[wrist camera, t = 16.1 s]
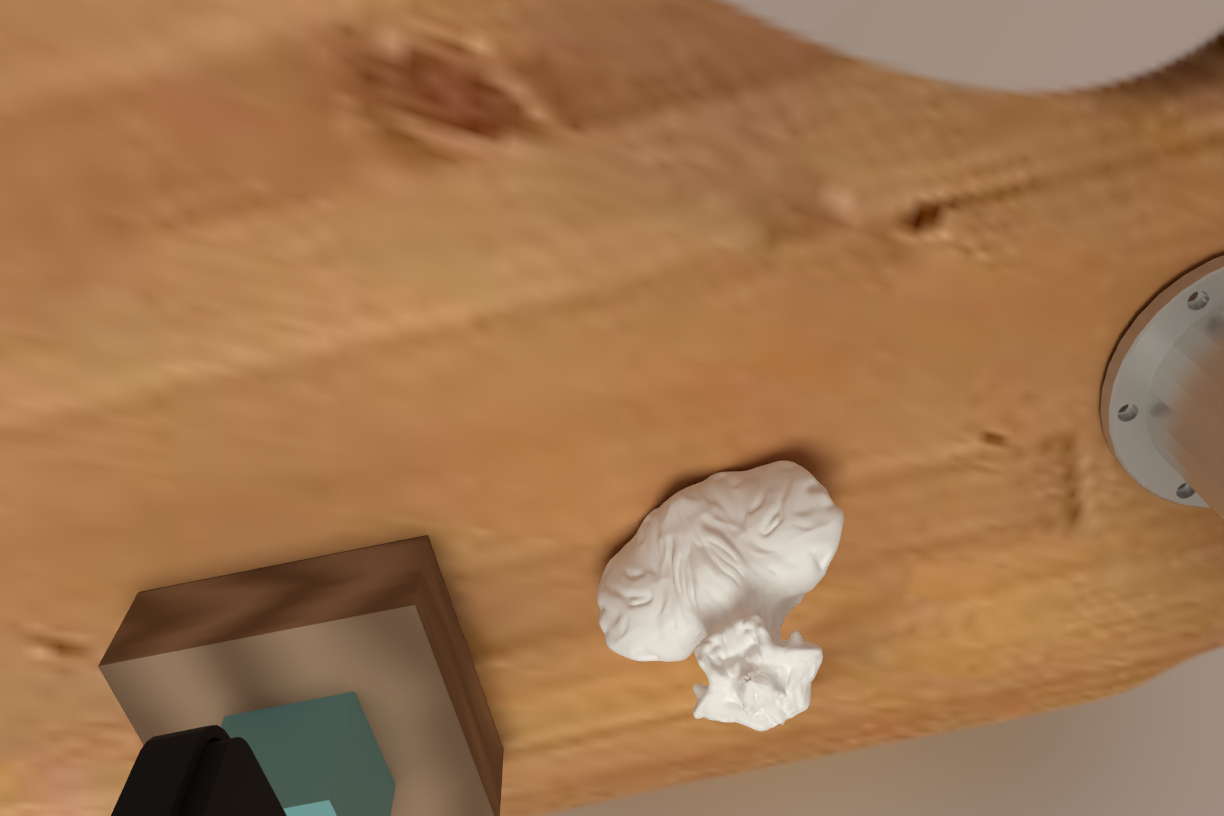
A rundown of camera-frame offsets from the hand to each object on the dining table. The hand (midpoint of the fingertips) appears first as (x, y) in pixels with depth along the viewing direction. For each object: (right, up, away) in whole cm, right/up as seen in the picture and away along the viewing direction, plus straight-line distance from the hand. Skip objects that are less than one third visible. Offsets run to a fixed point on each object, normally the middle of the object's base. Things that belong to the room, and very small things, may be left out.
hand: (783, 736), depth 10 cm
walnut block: (-15, -10, +44) cm, 48 cm away
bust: (+3, -3, +41) cm, 41 cm away
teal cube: (-15, -13, +39) cm, 44 cm away
